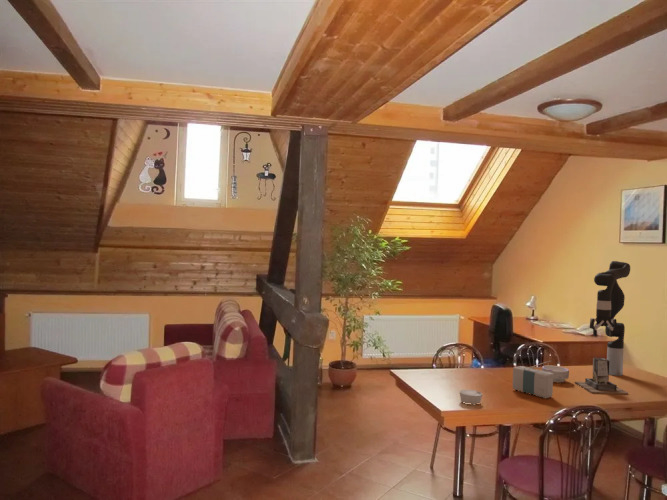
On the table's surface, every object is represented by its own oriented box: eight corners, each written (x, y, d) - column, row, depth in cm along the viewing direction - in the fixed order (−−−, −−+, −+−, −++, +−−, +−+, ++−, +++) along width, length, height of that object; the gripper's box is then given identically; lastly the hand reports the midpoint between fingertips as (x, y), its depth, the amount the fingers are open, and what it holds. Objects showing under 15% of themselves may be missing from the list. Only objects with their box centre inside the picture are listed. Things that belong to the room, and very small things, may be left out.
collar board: (574, 383, 319) (574, 376, 319) (608, 384, 319) (608, 377, 319) (591, 393, 297) (592, 386, 297) (628, 394, 297) (628, 387, 297)
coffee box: (609, 389, 303) (609, 360, 303) (596, 388, 304) (597, 360, 304) (603, 385, 312) (604, 357, 312) (591, 384, 313) (592, 356, 313)
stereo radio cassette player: (511, 390, 299) (512, 354, 299) (520, 388, 304) (521, 353, 304) (545, 400, 282) (546, 362, 282) (554, 397, 287) (555, 360, 287)
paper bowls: (574, 383, 318) (574, 370, 318) (554, 385, 313) (554, 371, 313) (555, 377, 333) (556, 364, 333) (535, 378, 328) (536, 365, 327)
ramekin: (485, 406, 268) (485, 395, 268) (463, 406, 268) (463, 395, 268) (477, 399, 280) (477, 389, 280) (456, 399, 279) (456, 389, 279)
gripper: (612, 307, 311) (612, 335, 311) (588, 307, 311) (587, 335, 312) (619, 309, 304) (618, 338, 304) (594, 309, 304) (593, 337, 304)
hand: (602, 336), depth 308 cm, fingers open, 8 cm apart
